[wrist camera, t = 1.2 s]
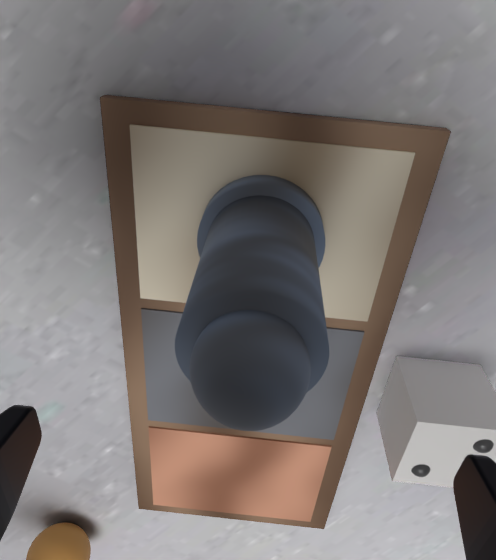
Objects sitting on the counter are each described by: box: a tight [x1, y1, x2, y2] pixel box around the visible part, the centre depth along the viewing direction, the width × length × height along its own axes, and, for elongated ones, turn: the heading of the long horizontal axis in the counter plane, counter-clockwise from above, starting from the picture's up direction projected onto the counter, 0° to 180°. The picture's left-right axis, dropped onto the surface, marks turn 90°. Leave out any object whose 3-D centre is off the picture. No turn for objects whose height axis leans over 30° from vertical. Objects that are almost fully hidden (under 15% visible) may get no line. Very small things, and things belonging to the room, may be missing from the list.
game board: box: [100, 95, 451, 529], centre depth 22 cm, size 12×25×1 cm, turn 176°
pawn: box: [175, 175, 329, 431], centre depth 14 cm, size 5×5×9 cm
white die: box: [377, 356, 496, 488], centre depth 20 cm, size 4×4×4 cm
